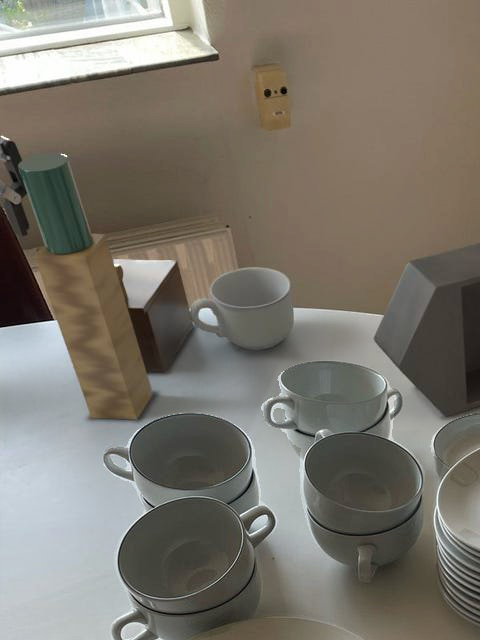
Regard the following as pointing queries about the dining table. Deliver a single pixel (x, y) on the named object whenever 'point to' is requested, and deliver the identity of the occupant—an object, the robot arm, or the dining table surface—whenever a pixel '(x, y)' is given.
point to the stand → (97, 329)
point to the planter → (438, 328)
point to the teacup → (249, 307)
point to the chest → (163, 325)
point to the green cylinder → (56, 203)
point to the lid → (143, 281)
